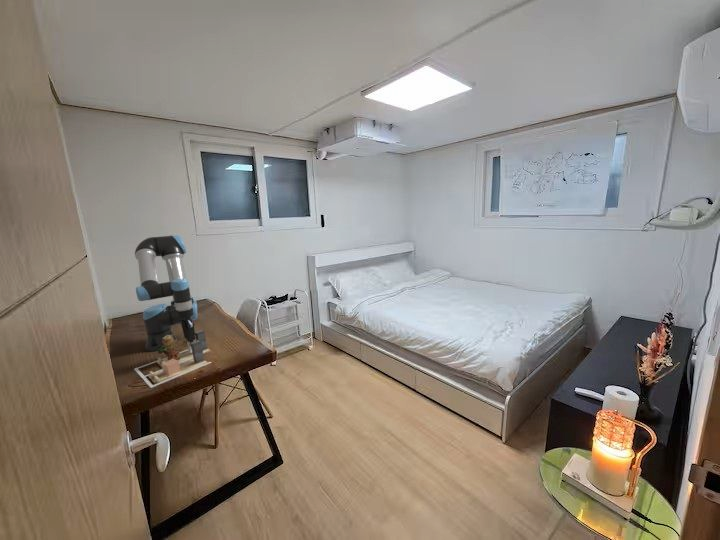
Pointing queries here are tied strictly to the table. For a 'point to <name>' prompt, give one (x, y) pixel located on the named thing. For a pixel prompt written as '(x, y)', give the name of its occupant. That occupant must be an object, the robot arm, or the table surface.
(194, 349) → the strip
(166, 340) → the figurine
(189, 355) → the strip
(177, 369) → the terracotta cube
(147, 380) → the lane board
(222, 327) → the table surface
